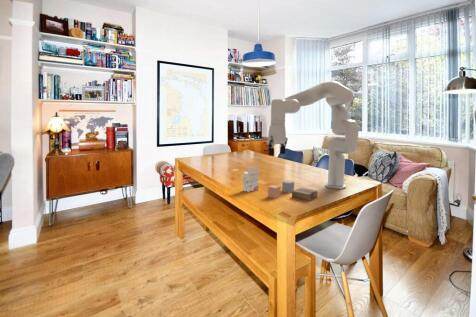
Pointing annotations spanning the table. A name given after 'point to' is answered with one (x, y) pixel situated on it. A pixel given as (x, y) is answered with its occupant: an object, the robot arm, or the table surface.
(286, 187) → the slate grey block
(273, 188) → the terracotta block
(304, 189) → the walnut block
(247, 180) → the ink cartridge box
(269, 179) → the table surface
